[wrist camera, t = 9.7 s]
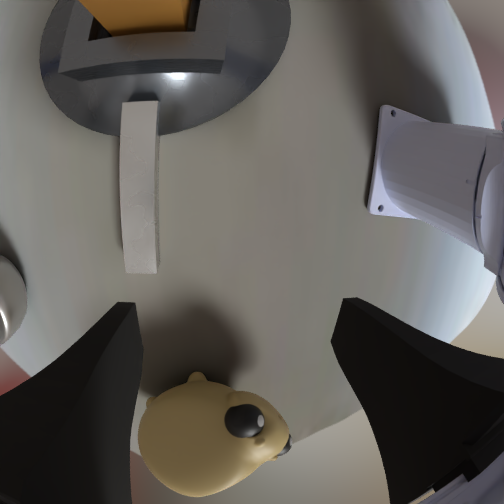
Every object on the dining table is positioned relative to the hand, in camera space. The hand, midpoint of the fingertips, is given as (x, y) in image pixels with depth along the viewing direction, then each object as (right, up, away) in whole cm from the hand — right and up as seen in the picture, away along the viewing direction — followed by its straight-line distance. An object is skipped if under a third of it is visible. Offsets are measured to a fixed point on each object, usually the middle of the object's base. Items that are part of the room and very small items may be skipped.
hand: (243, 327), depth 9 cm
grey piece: (-6, +13, +4) cm, 15 cm away
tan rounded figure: (-4, -10, +14) cm, 18 cm away
